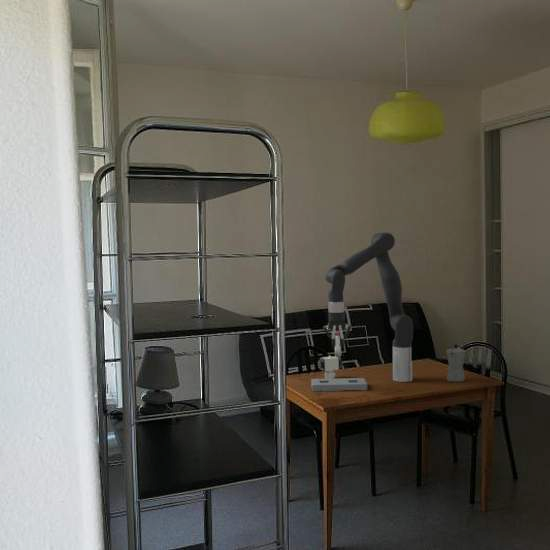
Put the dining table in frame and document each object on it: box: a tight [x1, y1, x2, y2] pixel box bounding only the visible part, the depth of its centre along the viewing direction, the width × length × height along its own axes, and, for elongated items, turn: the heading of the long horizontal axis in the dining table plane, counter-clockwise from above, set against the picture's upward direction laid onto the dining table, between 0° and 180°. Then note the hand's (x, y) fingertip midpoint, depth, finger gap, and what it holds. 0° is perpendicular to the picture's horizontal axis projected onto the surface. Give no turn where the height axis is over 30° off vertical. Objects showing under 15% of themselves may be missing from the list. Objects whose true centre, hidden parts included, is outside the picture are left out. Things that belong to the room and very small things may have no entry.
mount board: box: [310, 377, 368, 392], centre depth 302 cm, size 26×12×3 cm, turn 89°
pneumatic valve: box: [317, 355, 343, 379], centre depth 320 cm, size 6×12×12 cm, turn 108°
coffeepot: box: [446, 344, 466, 382], centre depth 312 cm, size 15×9×18 cm, turn 147°
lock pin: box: [334, 330, 342, 357], centre depth 300 cm, size 4×4×12 cm
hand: (337, 346), depth 301 cm, fingers closed on lock pin, 3 cm apart
